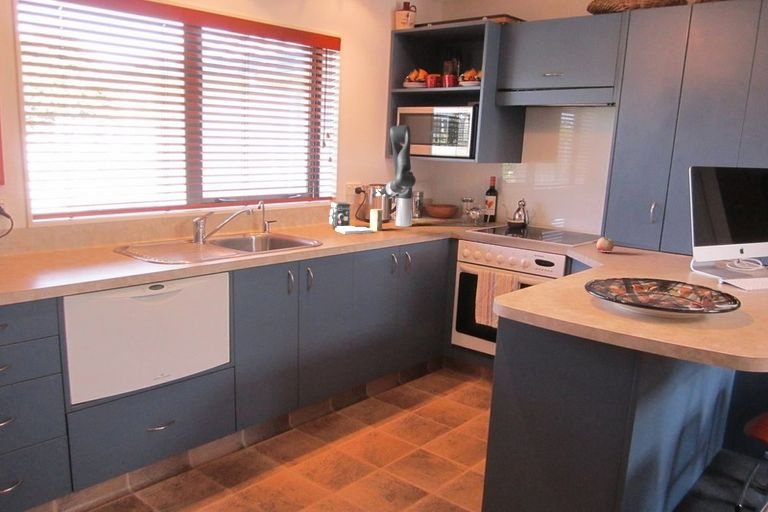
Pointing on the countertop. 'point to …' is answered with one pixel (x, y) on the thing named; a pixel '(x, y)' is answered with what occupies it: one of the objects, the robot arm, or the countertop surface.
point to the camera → (339, 214)
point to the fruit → (605, 244)
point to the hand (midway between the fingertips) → (380, 196)
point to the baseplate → (353, 230)
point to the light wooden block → (376, 219)
